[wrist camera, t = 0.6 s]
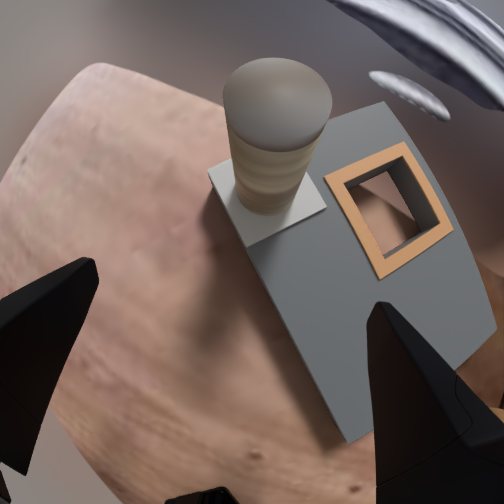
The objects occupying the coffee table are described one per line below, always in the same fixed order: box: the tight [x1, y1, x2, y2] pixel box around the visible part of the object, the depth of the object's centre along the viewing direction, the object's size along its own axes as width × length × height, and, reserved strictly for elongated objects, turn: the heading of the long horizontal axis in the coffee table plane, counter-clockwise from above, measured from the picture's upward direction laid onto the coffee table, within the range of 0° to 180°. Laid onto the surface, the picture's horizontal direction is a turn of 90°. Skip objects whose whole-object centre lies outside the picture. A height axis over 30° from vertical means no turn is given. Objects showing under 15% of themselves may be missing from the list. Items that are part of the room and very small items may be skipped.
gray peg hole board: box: [207, 102, 497, 444], centre depth 21 cm, size 22×16×3 cm
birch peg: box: [223, 58, 332, 216], centre depth 15 cm, size 4×4×10 cm
